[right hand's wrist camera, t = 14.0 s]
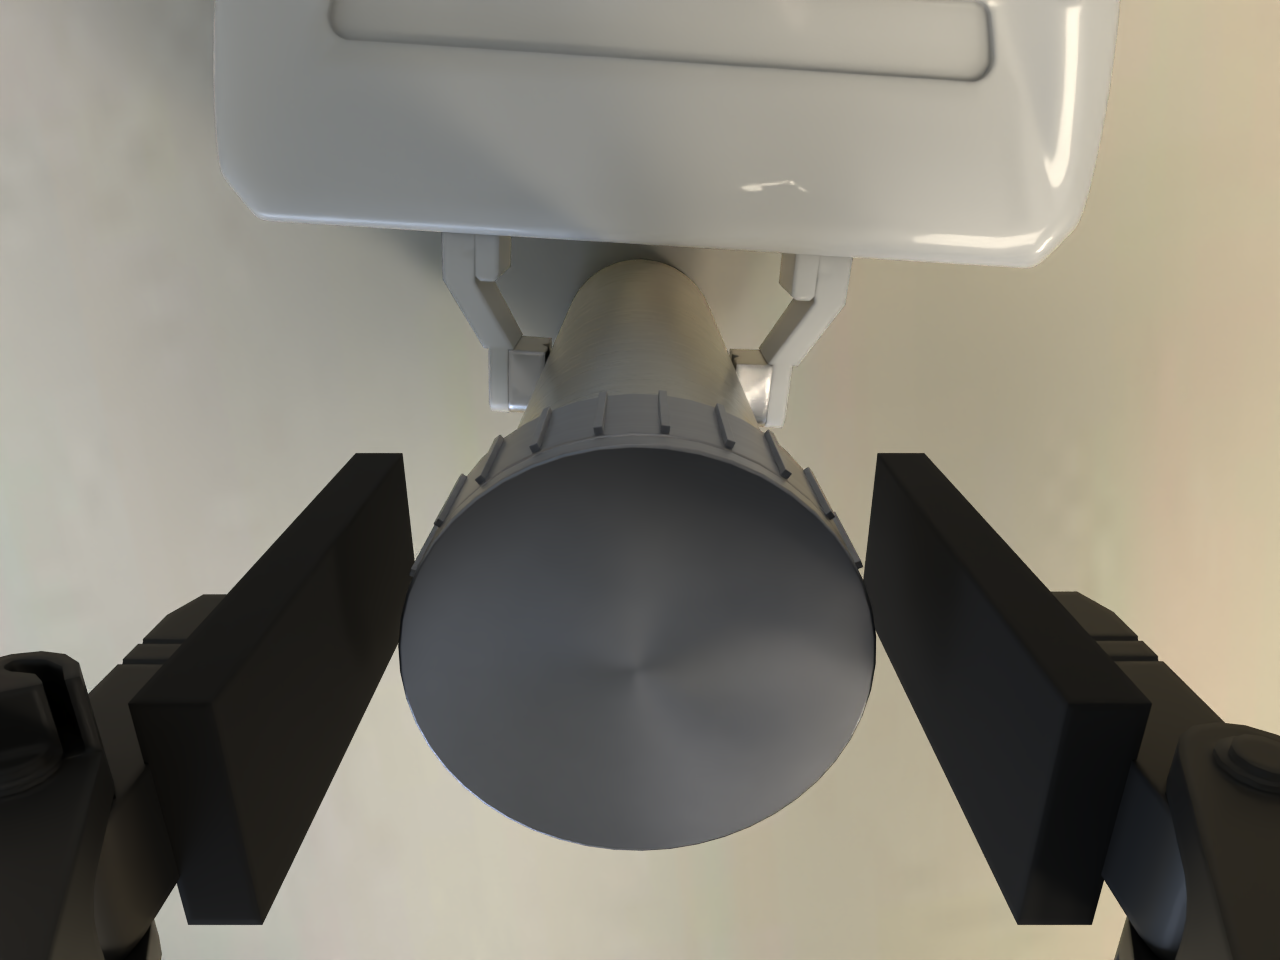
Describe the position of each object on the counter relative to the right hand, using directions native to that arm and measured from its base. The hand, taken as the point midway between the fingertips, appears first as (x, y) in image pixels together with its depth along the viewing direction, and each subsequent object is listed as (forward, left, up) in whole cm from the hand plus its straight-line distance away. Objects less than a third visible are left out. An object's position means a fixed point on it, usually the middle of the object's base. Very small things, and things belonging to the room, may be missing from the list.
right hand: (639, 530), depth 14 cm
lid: (0, 0, +4) cm, 4 cm away
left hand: (-1, +1, -9) cm, 9 cm away
